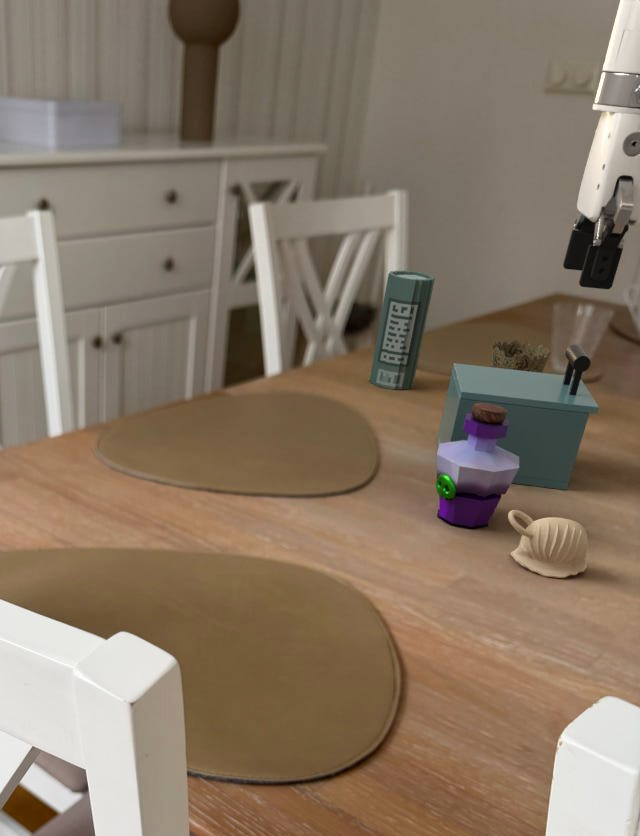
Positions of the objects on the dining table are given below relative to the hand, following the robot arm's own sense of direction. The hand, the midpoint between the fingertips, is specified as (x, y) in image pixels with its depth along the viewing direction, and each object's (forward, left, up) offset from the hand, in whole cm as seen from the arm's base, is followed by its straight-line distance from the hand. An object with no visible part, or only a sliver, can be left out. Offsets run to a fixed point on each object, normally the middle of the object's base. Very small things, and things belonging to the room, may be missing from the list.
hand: (585, 278), depth 105 cm
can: (+16, -29, -22) cm, 39 cm away
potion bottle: (+10, +18, -22) cm, 30 cm away
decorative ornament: (+3, +27, -22) cm, 35 cm away
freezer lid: (+4, 0, -13) cm, 13 cm away
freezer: (+4, 0, -22) cm, 22 cm away
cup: (0, -25, -22) cm, 33 cm away
